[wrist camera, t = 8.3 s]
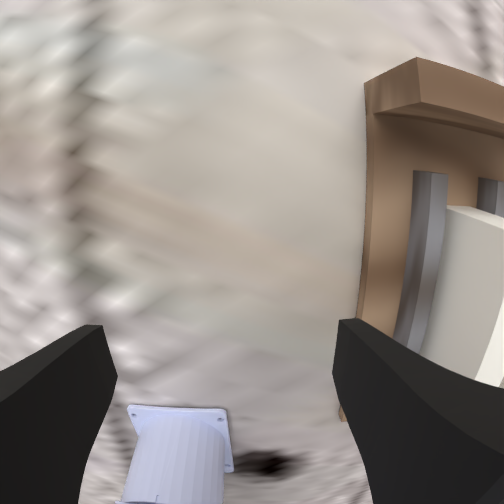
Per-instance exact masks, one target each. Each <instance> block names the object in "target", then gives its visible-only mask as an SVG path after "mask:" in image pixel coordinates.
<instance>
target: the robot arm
mask: <svg viewBox="0 0 504 504" xmlns="http://www.w3.org/2000/svg"><path fill="white" fill-rule="evenodd" d="M332 374H333V379H334V383H335V387H336V391H337V395H338V398H339V401H340V404H341V407H342V409H343V412H344V414H345V417H346V419H347V422H348V424H349V426H350V429H351V431H352V434H353V436H354V439H355V441H356V444H357V446H358V449H359V451H360V454H361V457H362V460H363V463H364V466H365V469H366V473H367V477H368V482H369V486H370V490H371V495H372V499H373V504H504V389H503V388H499V387H495V386H492V385H489V384H485V383H482V382H479V381H476V380H473V379H470V378H468V377H465V376H463V375H460V374H458V373H456V372H453V371H451V370H448V369H446V368H444V367H442V366H440V365H438V364H436V363H434V362H432V361H430V360H428V359H426V358H425V357H423V356H421V355H419V354H417V353H415V352H414V351H412V350H410V349H409V348H407V347H405V346H404V345H402V344H400V343H399V342H397V341H395V340H394V339H392V338H391V337H389V336H387V335H386V334H384V333H383V332H381V331H380V330H378V329H376V328H375V327H373V326H372V325H370V324H368V323H367V322H365V321H363V320H361V319H359V318H353V319H343V320H339V325H338V334H337V342H336V349H335V357H334V364H333V370H332ZM117 377H118V375H117V372H116V369H115V366H114V363H113V360H112V357H111V354H110V350H109V347H108V344H107V340H106V337H105V333H104V330H103V326H102V325H84V326H82V327H79V328H77V329H75V330H74V331H72V332H70V333H68V334H66V335H65V336H63V337H61V338H59V339H58V340H56V341H54V342H53V343H51V344H49V345H47V346H46V347H44V348H42V349H41V350H39V351H37V352H36V353H34V354H32V355H30V356H28V357H26V358H25V359H23V360H21V361H19V362H17V363H16V364H14V365H12V366H10V367H8V368H6V369H4V370H2V371H0V504H78V500H79V494H80V488H81V483H82V479H83V474H84V470H85V466H86V463H87V460H88V457H89V454H90V451H91V449H92V446H93V444H94V441H95V439H96V437H97V434H98V432H99V429H100V427H101V425H102V422H103V420H104V418H105V415H106V413H107V410H108V408H109V405H110V403H111V400H112V397H113V393H114V389H115V385H116V381H117ZM127 411H128V414H129V416H130V419H131V421H132V423H133V426H134V428H135V430H136V433H137V435H138V437H139V438H138V441H137V444H136V448H135V451H134V454H133V458H132V461H131V465H130V468H129V472H128V476H127V479H126V483H125V487H124V490H123V494H122V498H121V502H120V501H115V504H223V501H224V473H231V472H233V471H234V464H233V457H232V450H231V443H230V435H229V428H228V420H227V413H226V411H225V410H223V409H203V408H172V407H156V406H143V405H129V406H128V408H127ZM220 418H222V419H220Z"/></svg>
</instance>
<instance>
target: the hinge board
mask: <svg viewBox="0 0 504 504" xmlns="http://www.w3.org/2000/svg"><path fill="white" fill-rule="evenodd" d="M364 87H365V104H366V132H367V185H366V213H365V231H364V246H363V258H362V269H361V280H360V289H359V298H358V306H357V313H356V318H359V319H361V320H363V321H365V322H367V323H368V324H370V325H372V326H373V327H375V328H376V329H378V330H380V331H381V332H383V333H384V334H386V335H387V336H389V337H391V338H392V339H394V340H395V341H397V342H399V343H400V344H402V345H404V346H405V347H407V348H409V349H410V350H412V351H414V352H415V353H417V354H419V353H420V350H421V346H422V343H423V339H424V335H425V332H426V328H427V324H428V319H429V315H430V311H431V307H432V302H433V297H434V292H435V287H436V282H437V277H438V271H439V265H440V258H441V252H442V244H443V237H444V228H445V219H446V207H447V205H451V206H470V207H473V208H476V209H479V210H482V211H485V212H488V213H491V214H494V215H497V216H500V217H503V218H504V87H503V86H501V85H498V84H496V83H494V82H491V81H489V80H486V79H484V78H481V77H479V76H476V75H473V74H470V73H468V72H465V71H462V70H459V69H456V68H453V67H450V66H447V65H443V64H440V63H437V62H433V61H430V60H426V59H422V58H418V57H416V58H413V59H411V60H409V61H407V62H405V63H403V64H401V65H399V66H397V67H395V68H393V69H391V70H389V71H387V72H385V73H383V74H381V75H379V76H377V77H375V78H373V79H371V80H369V81H367V82H365V83H364ZM339 416H340V419H341V422H344V421H347V419H346V417H345V414H344V412H343V409H342V407H341V406H340V410H339Z"/></svg>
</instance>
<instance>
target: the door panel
mask: <svg viewBox="0 0 504 504" xmlns="http://www.w3.org/2000/svg"><path fill="white" fill-rule="evenodd" d="M419 355H421V356H423V357H425V358H426V359H428V360H430V361H432V362H434V363H436V364H438V365H440V366H442V367H444V368H446V369H448V370H451V371H453V372H456V373H458V374H460V375H463V376H465V377H468V378H470V379H473V380H476V381H479V382H482V383H485V384H489V385H492V386H495V387H499V385H500V383H501V381H502V379H503V377H504V218H503V217H500V216H497V215H494V214H491V213H488V212H485V211H482V210H479V209H476V208H473V207H470V206H451V205H447V207H446V219H445V228H444V237H443V244H442V252H441V258H440V265H439V271H438V277H437V282H436V287H435V292H434V297H433V302H432V307H431V311H430V315H429V319H428V324H427V328H426V332H425V335H424V339H423V343H422V346H421V350H420V353H419Z"/></svg>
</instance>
